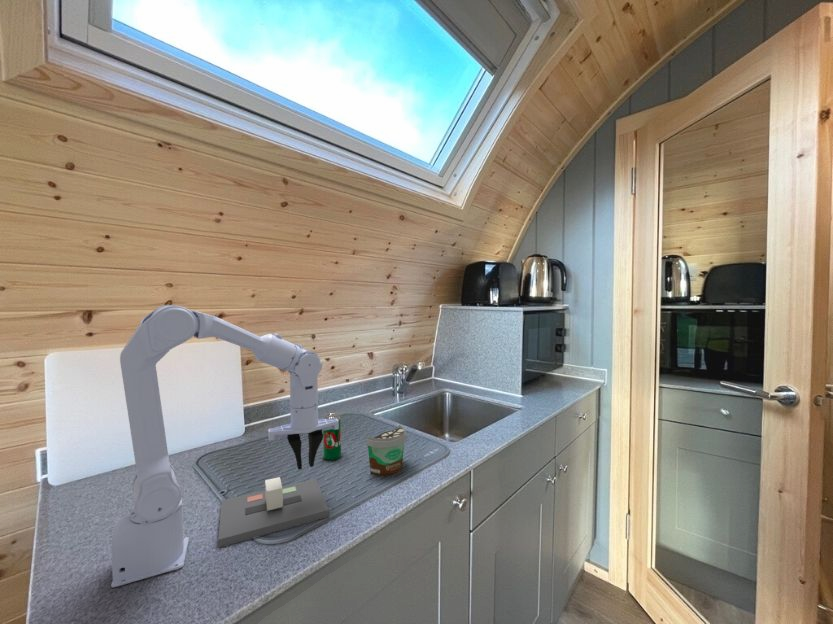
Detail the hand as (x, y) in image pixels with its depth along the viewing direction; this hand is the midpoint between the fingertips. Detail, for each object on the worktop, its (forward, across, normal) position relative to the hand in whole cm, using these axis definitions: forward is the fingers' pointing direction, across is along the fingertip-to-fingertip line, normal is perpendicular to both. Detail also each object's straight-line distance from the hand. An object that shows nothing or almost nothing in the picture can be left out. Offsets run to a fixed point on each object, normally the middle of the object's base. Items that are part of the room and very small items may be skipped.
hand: (305, 466), depth 77 cm
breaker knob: (+6, +7, 0) cm, 9 cm away
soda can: (+9, -10, -20) cm, 24 cm away
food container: (+9, -22, -5) cm, 25 cm away
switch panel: (+8, +6, 0) cm, 11 cm away
